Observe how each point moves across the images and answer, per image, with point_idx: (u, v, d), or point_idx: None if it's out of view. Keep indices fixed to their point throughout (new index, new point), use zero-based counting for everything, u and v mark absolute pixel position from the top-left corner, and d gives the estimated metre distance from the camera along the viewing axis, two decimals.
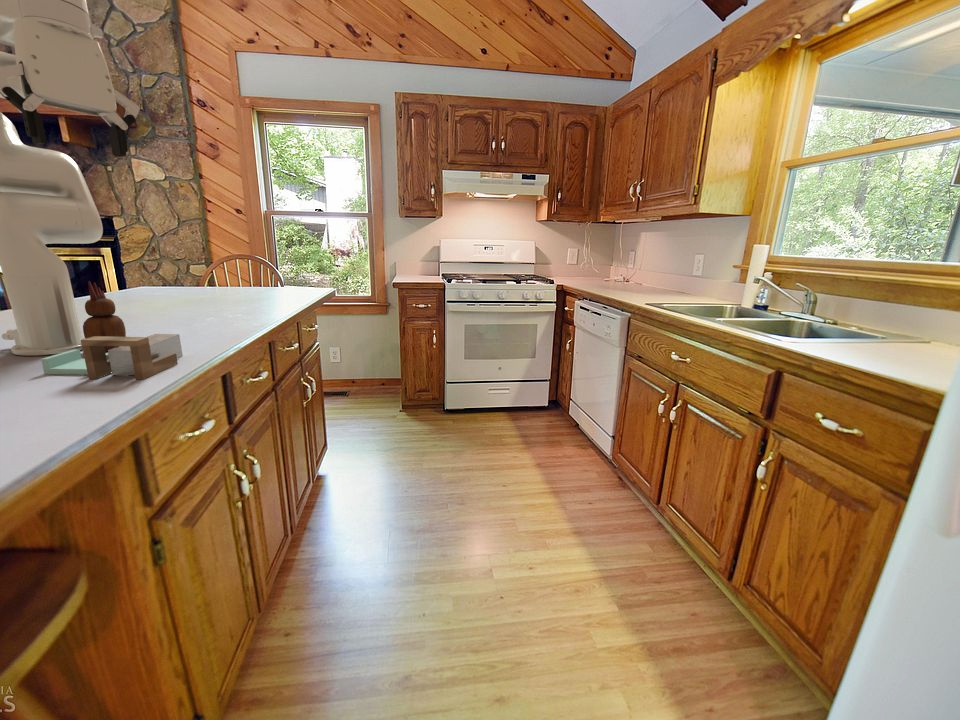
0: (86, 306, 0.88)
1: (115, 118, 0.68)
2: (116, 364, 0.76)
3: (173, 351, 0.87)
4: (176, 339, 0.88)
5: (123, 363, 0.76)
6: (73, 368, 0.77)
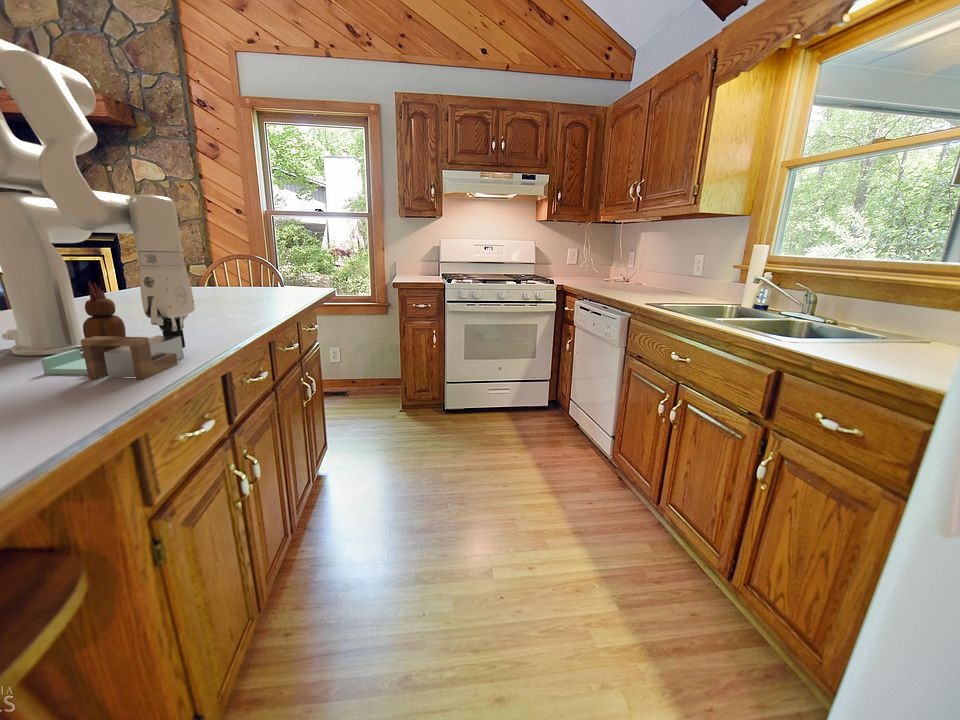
0: (86, 306, 0.88)
1: None
2: (112, 367, 0.75)
3: None
4: (177, 341, 0.87)
5: (119, 366, 0.75)
6: (73, 368, 0.77)
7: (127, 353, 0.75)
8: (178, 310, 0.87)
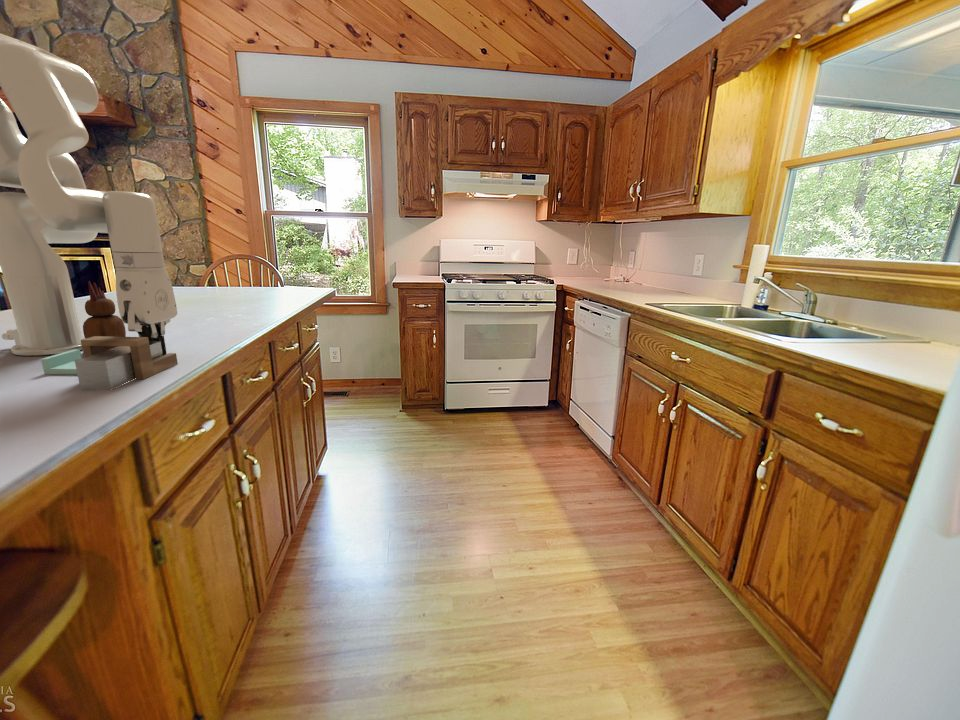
0: (86, 306, 0.88)
1: None
2: (85, 376, 0.69)
3: None
4: (156, 347, 0.81)
5: (92, 375, 0.69)
6: (73, 368, 0.77)
7: (101, 361, 0.69)
8: (157, 315, 0.81)
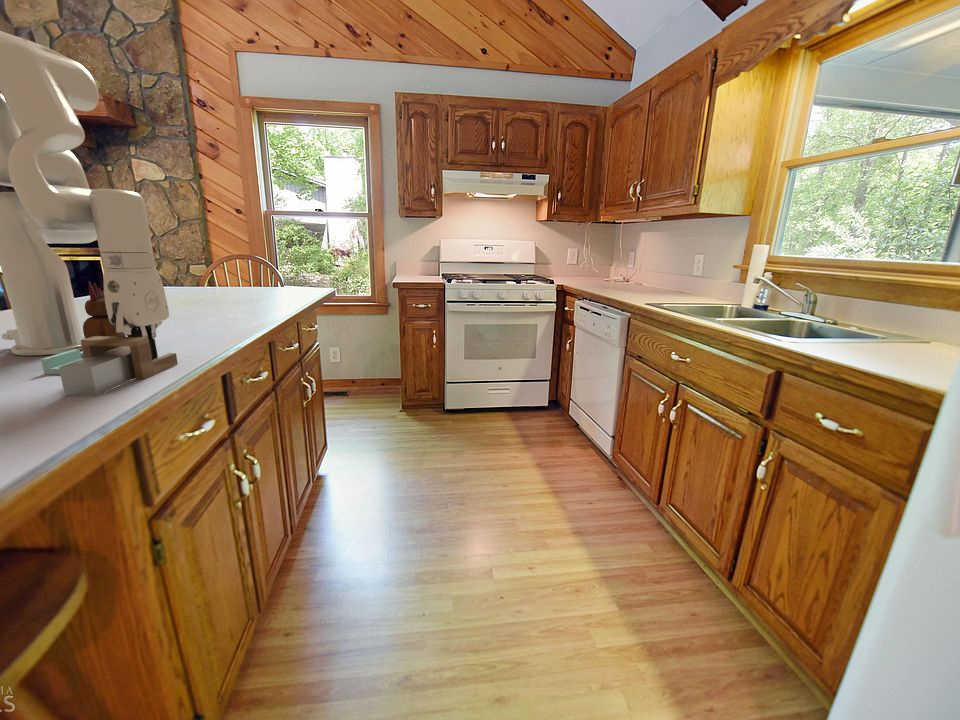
0: (86, 306, 0.88)
1: None
2: (69, 383, 0.66)
3: None
4: None
5: (76, 382, 0.66)
6: None
7: (86, 367, 0.66)
8: (147, 318, 0.78)
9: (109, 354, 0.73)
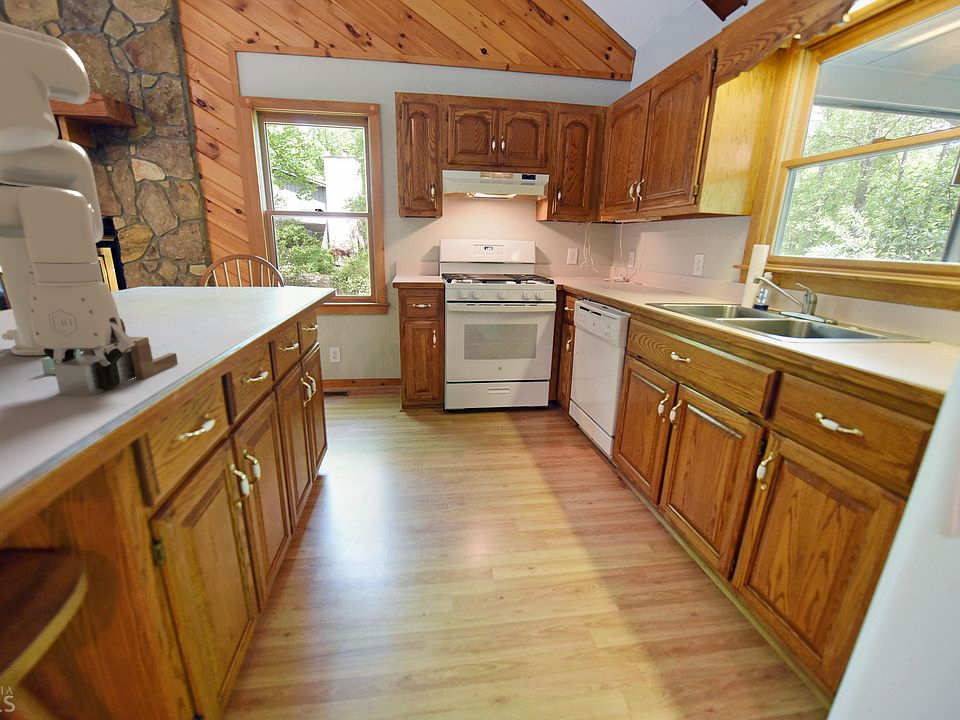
0: None
1: None
2: (64, 381, 0.66)
3: None
4: None
5: (70, 380, 0.66)
6: None
7: (79, 366, 0.66)
8: (54, 340, 0.65)
9: None
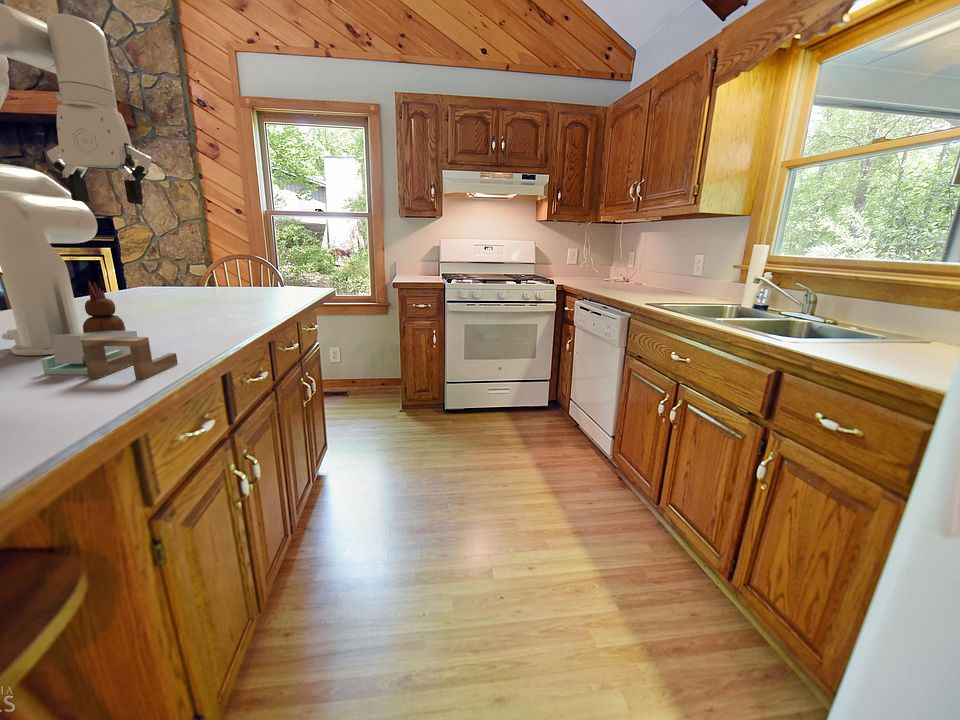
0: (86, 306, 0.88)
1: None
2: (60, 350, 0.76)
3: (127, 346, 0.87)
4: (132, 335, 0.88)
5: (66, 349, 0.76)
6: (73, 368, 0.77)
7: (76, 336, 0.76)
8: (77, 157, 0.76)
9: (99, 332, 0.83)
